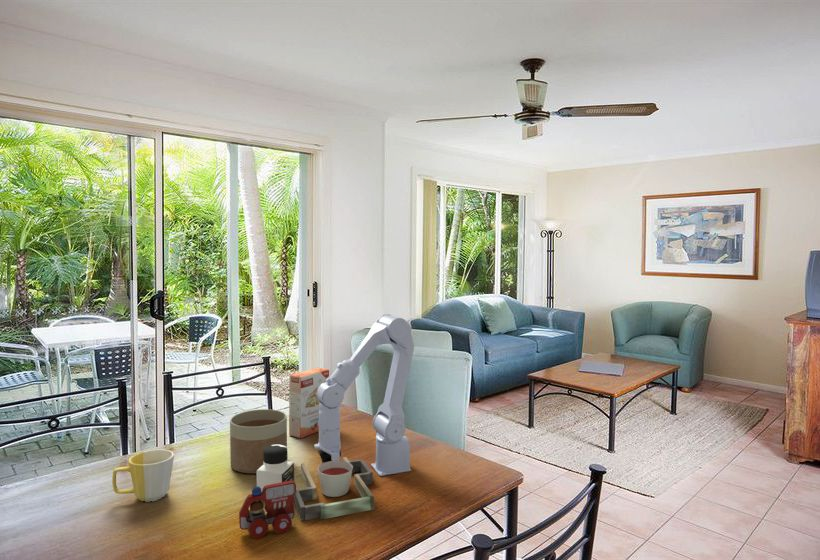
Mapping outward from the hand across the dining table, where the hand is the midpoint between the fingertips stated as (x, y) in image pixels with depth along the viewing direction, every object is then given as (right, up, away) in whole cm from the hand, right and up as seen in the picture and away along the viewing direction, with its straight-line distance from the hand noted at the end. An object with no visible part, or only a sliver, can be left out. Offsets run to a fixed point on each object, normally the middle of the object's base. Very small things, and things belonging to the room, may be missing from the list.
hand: (329, 476), depth 142 cm
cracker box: (-13, +1, +38) cm, 40 cm away
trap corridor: (+2, -2, -5) cm, 6 cm away
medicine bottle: (-13, -2, -7) cm, 15 cm away
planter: (-22, -1, +11) cm, 25 cm away
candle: (+2, -2, -6) cm, 7 cm away
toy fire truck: (-10, -3, -24) cm, 26 cm away
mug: (-45, -2, -10) cm, 46 cm away
